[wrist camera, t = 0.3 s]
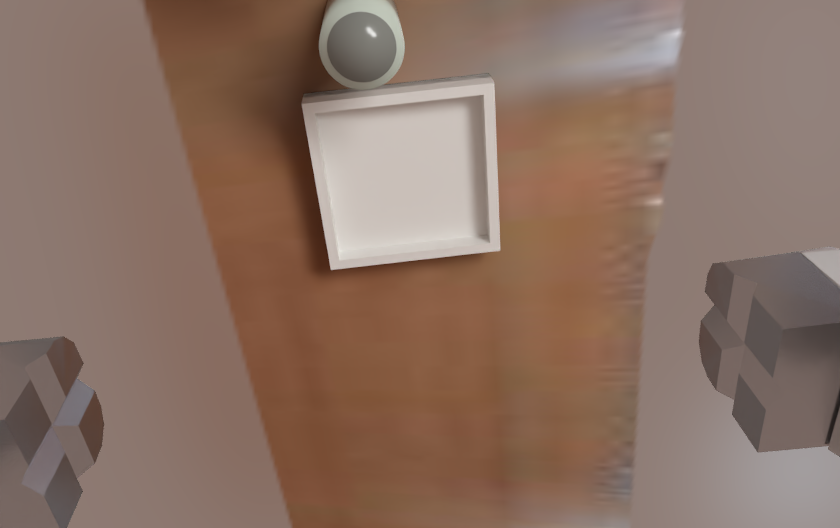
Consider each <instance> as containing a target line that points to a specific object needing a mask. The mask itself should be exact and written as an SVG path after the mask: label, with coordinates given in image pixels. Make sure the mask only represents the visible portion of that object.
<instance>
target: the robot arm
mask: <svg viewBox="0 0 840 528" xmlns="http://www.w3.org/2000/svg"><path fill="white" fill-rule="evenodd" d="M705 293H706V294H707V295H708V296H709V298H710V299H711V301H712V302H713V303H714V306H713V307H712V308H711V310H710V311H709V312H708V313H707V314H706V315H705V317H704V318H703V319H702V320H701V325H700V335H699V346H700V353H701V359H702V364H703V366H704V368H705V371H706V374H707V377H708V378H709V380H710V381H711V383H712V385H713V386H714V388H715V389H716V390H717V391H718V392H720V393H722V394H724V395H726V396H728V397H730V398H732V399H734V405H733V411H732V415H733V417H734V418H735V420H736V421H737V422H738V424H739V425H740V427H741V428H742V430H743V431H744V433H745V434H746V436H747V437H748V439H749V440H750V442H751V443H752V445H753V446H754V448H755V449H756V451H757V452H768V451H778V450H789V449H800V448H811V447H822V446H829V447H828V449H829V450H830V451H832V452H833V453H835V454H836V455H838V456H839V457H840V249H838V248H834V247H824V248H817V249H810V250H804V251H797V252H791V253H786V254H778V255H771V256H764V257H757V258H749V259H743V260H735V261H728V262H720V263H713V264H712V266H711V268H710V270H709V273H708V275H707V281H706V287H705ZM82 366H83V361H82V359H81V357H80V355H79V352H78V350H77V348H76V346H75V344H74V342H72V341H71V340H69V339H67V338H65V337H53V338H42V339H32V340H21V341H11V342H0V528H67V526H68V524H69V522H70V519H71V517H72V515H73V512H74V510H75V508H76V506H77V503H78V501H79V499H80V497H81V494H82V492H83V491H82V488H81V486H80V484H79V482H78V480H77V478H78V477H79V476H80V475H82V474H83V473H84V472H85V471H86V470H88V469H89V468H90V467H91V466H92V465H94V464H95V462H96V459H97V457H98V454H99V452H100V449H101V447H102V440H103V429H104V428H103V427H104V421H103V415H102V409H101V405H100V402H99V400H98V398H97V395H96V392H95V391H94V390H93V389H92V388H90V387H88V386H87V385H86V384H84V383H83V382H81V381H80V380H79V379H77V377H78V375H79V373H80V370H81V368H82Z"/></svg>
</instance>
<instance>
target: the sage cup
mask: <svg viewBox="0 0 840 528" xmlns="http://www.w3.org/2000/svg"><path fill="white" fill-rule="evenodd" d="M404 50H405V44H404V37H403V33H402V29H401V25H400V20H399V16H398V12H397V8H396V5H395V2H394V0H328V2H327V5H326V9H325V13H324V18H323V23H322V28H321V33H320V38H319V53H320V58H321V60H322V63H323V65H324V67H325V69H326V70H327V72H328V73H329V74H330V75H331V77H332V78H334V79H335V80H336V81H337V82H339V83H340V84H342V85H344V86H346V87H349V88H352V89H357V90H368V89H373V88H377V87H379V86H381V85H383V84H385V83H386V82H388V81H389V80H390V79H391V78H392V77H393V76H394V75H395V74H396V73H397V71H398V70H399V68H400V66H401V64H402V61H403V57H404Z"/></svg>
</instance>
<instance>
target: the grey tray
mask: <svg viewBox="0 0 840 528" xmlns="http://www.w3.org/2000/svg"><path fill="white" fill-rule="evenodd" d="M302 110H303V115H304V121H305V127H306V132H307V138H308V144H309V149H310V155H311V160H312V166H313V172H314V177H315V183H316V189H317V194H318V200H319V206H320V211H321V217H322V222H323V228H324V234H325V239H326V245H327V251H328V256H329V262H330V268H331V270H335V269H344V268H352V267H361V266H370V265H379V264H387V263H396V262H405V261H414V260H422V259H431V258H440V257H449V256H457V255H466V254H475V253H484V252H492V251H500V228H499V200H498V173H497V145H496V117H495V89H494V81H493V80H492V78H491V76H490V75H489V73H488V74H479V75H470V76H461V77H452V78H442V79H433V80H424V81H415V82H406V83H397V84H388V85H381V86H379V87H377V88H373V89H368V90H357V89H352V88H351V89H342V90H333V91H324V92H314V93H305V94H304V95H303V99H302Z"/></svg>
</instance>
